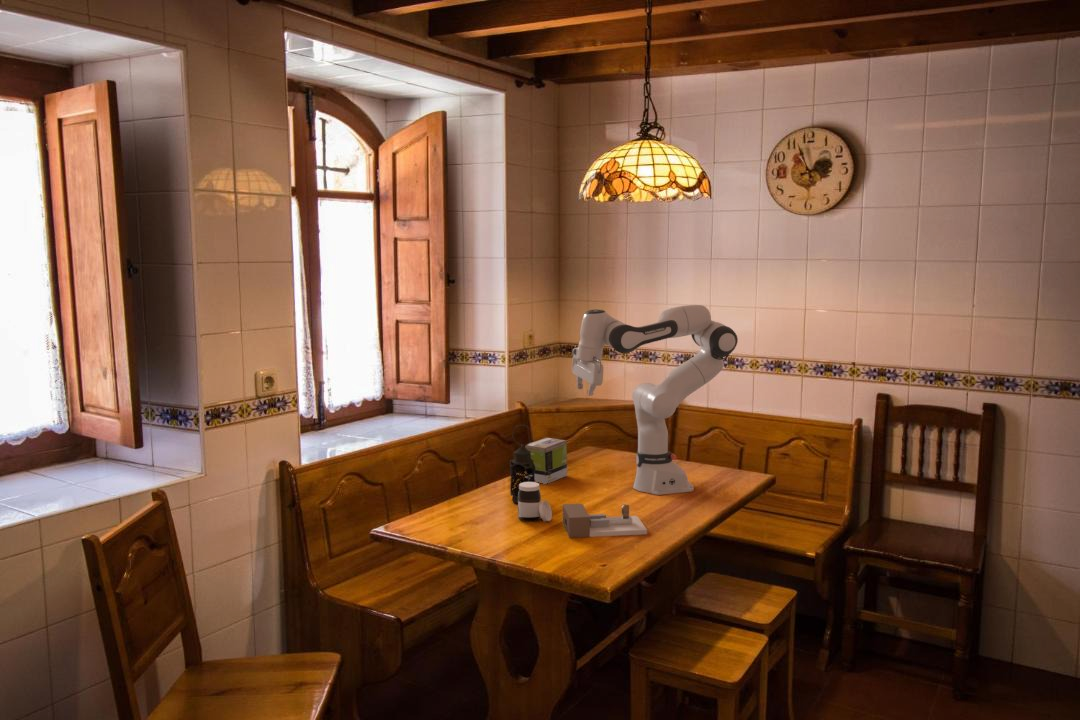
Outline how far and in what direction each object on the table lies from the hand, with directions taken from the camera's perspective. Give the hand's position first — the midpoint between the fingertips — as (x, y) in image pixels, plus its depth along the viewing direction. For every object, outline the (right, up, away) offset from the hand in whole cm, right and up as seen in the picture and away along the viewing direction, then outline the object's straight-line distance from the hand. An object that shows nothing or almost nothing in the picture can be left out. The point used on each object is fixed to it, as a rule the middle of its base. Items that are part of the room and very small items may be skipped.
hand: (584, 392), depth 312 cm
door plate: (+5, -43, -32) cm, 54 cm away
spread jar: (-18, -42, -21) cm, 50 cm away
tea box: (-14, -35, +27) cm, 47 cm away
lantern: (-22, -39, -2) cm, 45 cm away
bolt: (+9, -41, -31) cm, 53 cm away
